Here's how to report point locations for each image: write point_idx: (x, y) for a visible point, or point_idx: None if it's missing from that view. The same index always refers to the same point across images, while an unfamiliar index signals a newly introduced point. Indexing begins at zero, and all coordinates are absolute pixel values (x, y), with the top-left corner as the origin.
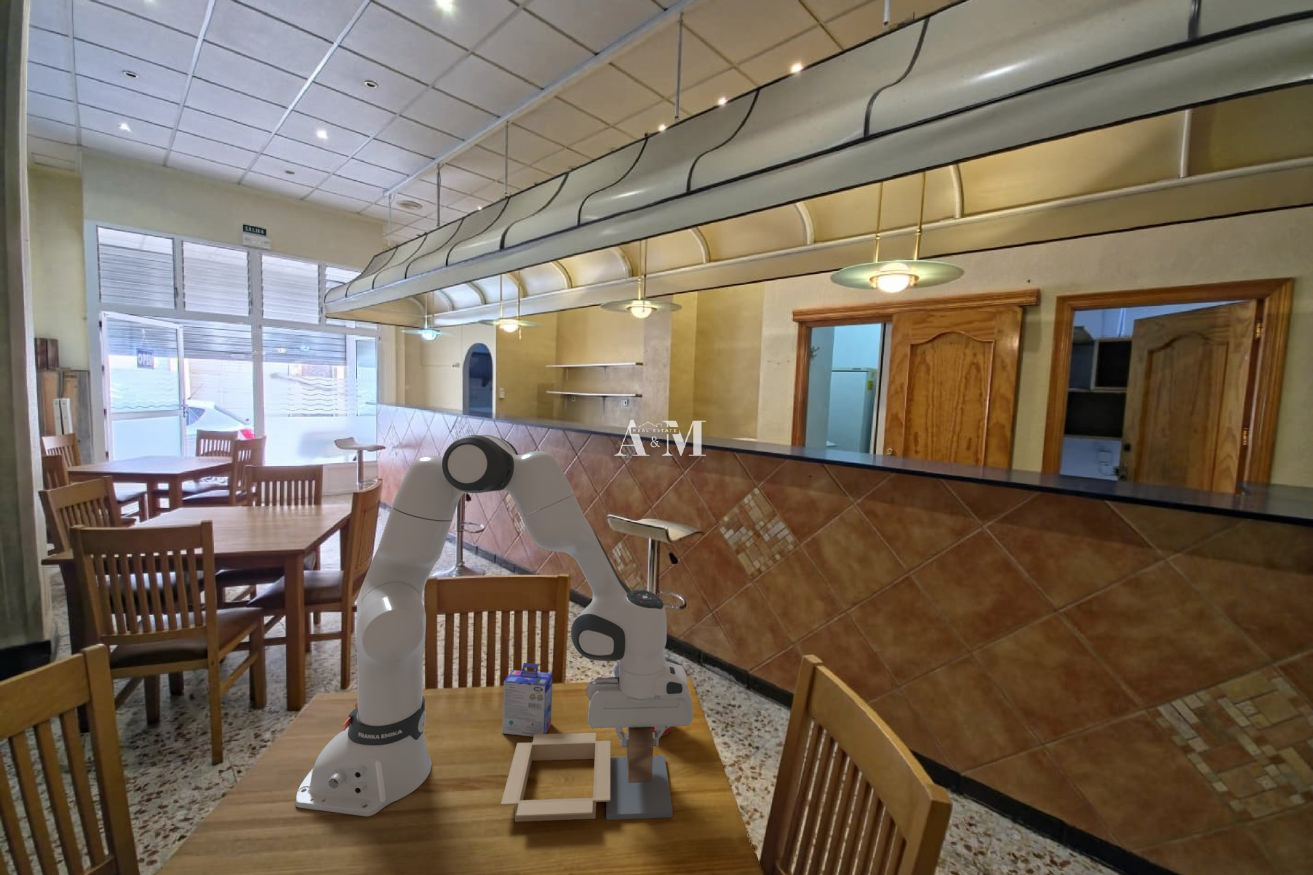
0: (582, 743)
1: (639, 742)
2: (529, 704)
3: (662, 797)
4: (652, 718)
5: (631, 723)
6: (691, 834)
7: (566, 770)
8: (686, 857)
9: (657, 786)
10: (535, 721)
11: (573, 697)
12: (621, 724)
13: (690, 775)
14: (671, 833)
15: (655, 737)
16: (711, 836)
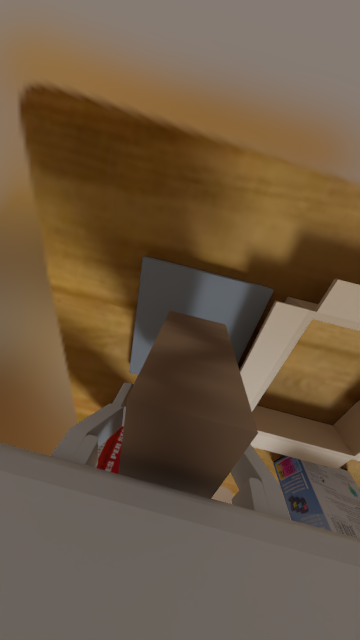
0: (265, 431)
1: (204, 415)
2: (354, 535)
3: (153, 295)
4: (78, 557)
5: (225, 541)
6: (118, 203)
7: (289, 395)
8: (142, 141)
9: (156, 321)
10: (322, 485)
11: (226, 482)
12: (285, 550)
13: (96, 329)
14: (157, 217)
15: (122, 409)
16: (80, 185)
